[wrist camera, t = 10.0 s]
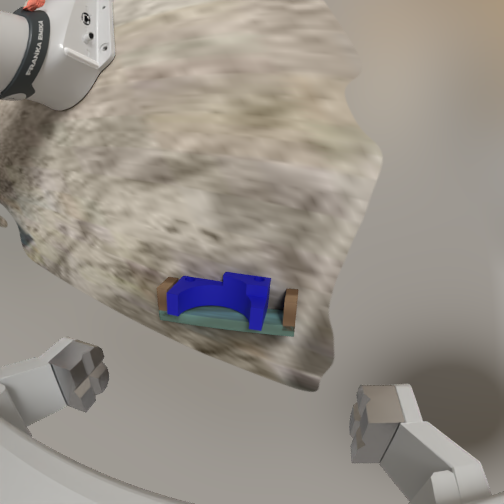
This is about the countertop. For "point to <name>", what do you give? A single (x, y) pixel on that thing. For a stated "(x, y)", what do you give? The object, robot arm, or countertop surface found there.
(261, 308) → the cable clip
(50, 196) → the countertop surface
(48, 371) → the robot arm
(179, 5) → the countertop surface
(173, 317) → the rail
